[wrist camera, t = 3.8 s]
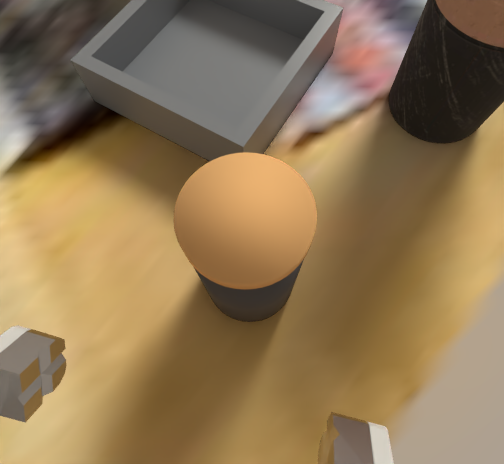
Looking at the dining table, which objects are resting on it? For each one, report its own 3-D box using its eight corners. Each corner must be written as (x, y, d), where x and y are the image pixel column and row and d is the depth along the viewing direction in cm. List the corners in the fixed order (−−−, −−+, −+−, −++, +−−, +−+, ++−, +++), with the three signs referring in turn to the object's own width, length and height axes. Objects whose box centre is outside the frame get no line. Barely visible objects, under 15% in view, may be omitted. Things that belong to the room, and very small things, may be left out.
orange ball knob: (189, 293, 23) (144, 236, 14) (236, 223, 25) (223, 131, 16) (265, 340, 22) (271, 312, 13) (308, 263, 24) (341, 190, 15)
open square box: (94, 100, 29) (70, 60, 25) (193, -6, 34) (186, -54, 30) (245, 179, 26) (243, 147, 23) (332, 52, 31) (343, 7, 27)
